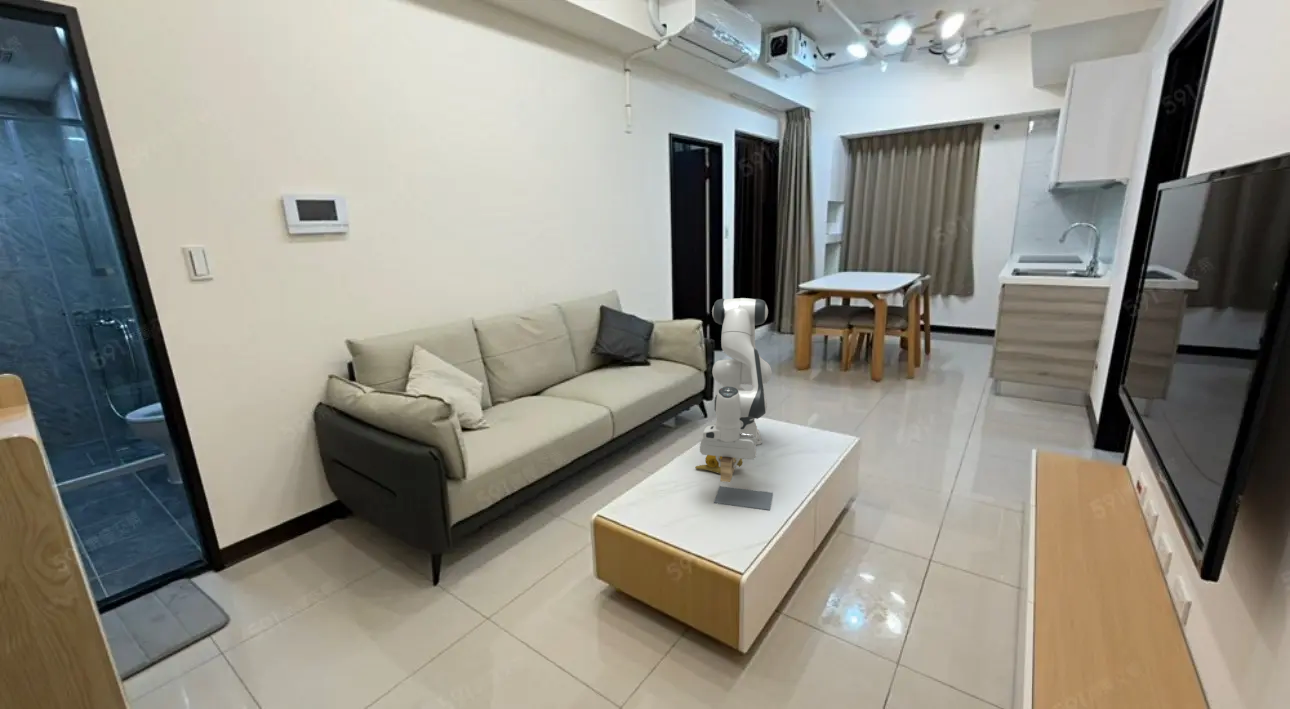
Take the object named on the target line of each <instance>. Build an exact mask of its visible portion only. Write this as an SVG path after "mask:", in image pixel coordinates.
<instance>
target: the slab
mask: <svg viewBox="0 0 1290 709" xmlns="http://www.w3.org/2000/svg"><path fill="white" fill-rule="evenodd" d="M733 462H735V458H731V457H722V459H721V474H720V482H723V483H724V482H725V483H731V481H732V478H733V475H734V472H735V469H736V468H732V463H733Z"/></svg>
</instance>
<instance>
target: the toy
mask: <svg viewBox="0 0 1290 709" xmlns="http://www.w3.org/2000/svg"><path fill="white" fill-rule="evenodd" d="M720 459H722V456H720ZM704 461H705V464H702V465H700V464H699V465H696V466H695V467H694V468H695V469H696V470H702V471H704V470H705V471H709V472H712V473H716V474H720V475H721V467H719V463H718V461H717V459H716V456H713V455H705V460H704ZM735 462H736V460H735ZM742 466H743V459H741V458H740V460H739V462H738V463H737V467H738V468H740V467H742Z"/></svg>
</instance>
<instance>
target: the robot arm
mask: <svg viewBox="0 0 1290 709" xmlns="http://www.w3.org/2000/svg"><path fill="white" fill-rule="evenodd" d="M711 312H712V313H711V314H712V318H713V322H715V323H716V324H718V325H722V328H721V338H720V339H721V340H720V342H721V343H720V344H721V349H722V351H723V353H724V354H725V355H726V356H728V357H729V358H727V359H719V360H716V361H715V363H713V365H712V371H711V373H712V377H713V379H714V381H716V383H718V384H719V385H721V386H722V387H721V388H719V389H718V390H717V394H716V395H715V397H714V412H715V415H716V420H715V424H711V425H707V426H706V427H705V428H704V430H703V432H702V438H701V441H700V445H699V452H700V454H701V455H705V456H707V455H713V456H716V459H717V461H718V463H719V467H721V459H720V456H722V457H731V458H735V460H736V462H733V463H732V468H735V469H737V468H738V466H737V463H738V462H739V460H740V458H741V459H742V460H751V461H753V460H755V459H756V457H757V448H756V447H757V445H762V443H763V442H762V438H761V433H760V429H758V426H757V423H756V421H755V420H757V419H758V420H759V419H760V418H762V417H763V416H765V414H766V412H767V410H768V402H767V397H766V393H765V391H764V390H765V388H764V384H767V383H769V381H770V380H771V378H772V374H773V371H772V368H771V365H770V364H769V363H768V361H766V360H764V359H763V358H762V357H761V356H760V354H759V351H758V350H757V347H756V329H755V328H756V327H755V326H759V325H762V324H764V323H765V322H766V321H767V318H768V316H769V315H768V314H769V309H768V305H767V303H766V301H765V300H763V299H760V298H748V297H747V298H746V297H740V298H726V299H725V298H720V299H717V300H716V301H715V302H714V305H713V306H712V310H711ZM741 385H750V386H751V385H752V389H751V390H745V389H744V388H742V386H741Z"/></svg>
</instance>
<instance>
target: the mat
mask: <svg viewBox="0 0 1290 709" xmlns="http://www.w3.org/2000/svg"><path fill="white" fill-rule="evenodd" d="M773 495H774V492H773V491H772V492H770V491H764V490H756V489H755V490H754V489H748V488H747V489H746V488H738V487H731V486H730V487H729V486H723V485H719V487H718V490H717V491H716V495H715V498H714V501H713V504H717V503H718V504H719V505H726V506H734V507H739V508H740V507H741V508H747V509H754V510H755V509H757V510H762V511H771V507H772V506H771V505H772V501H773Z"/></svg>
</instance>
